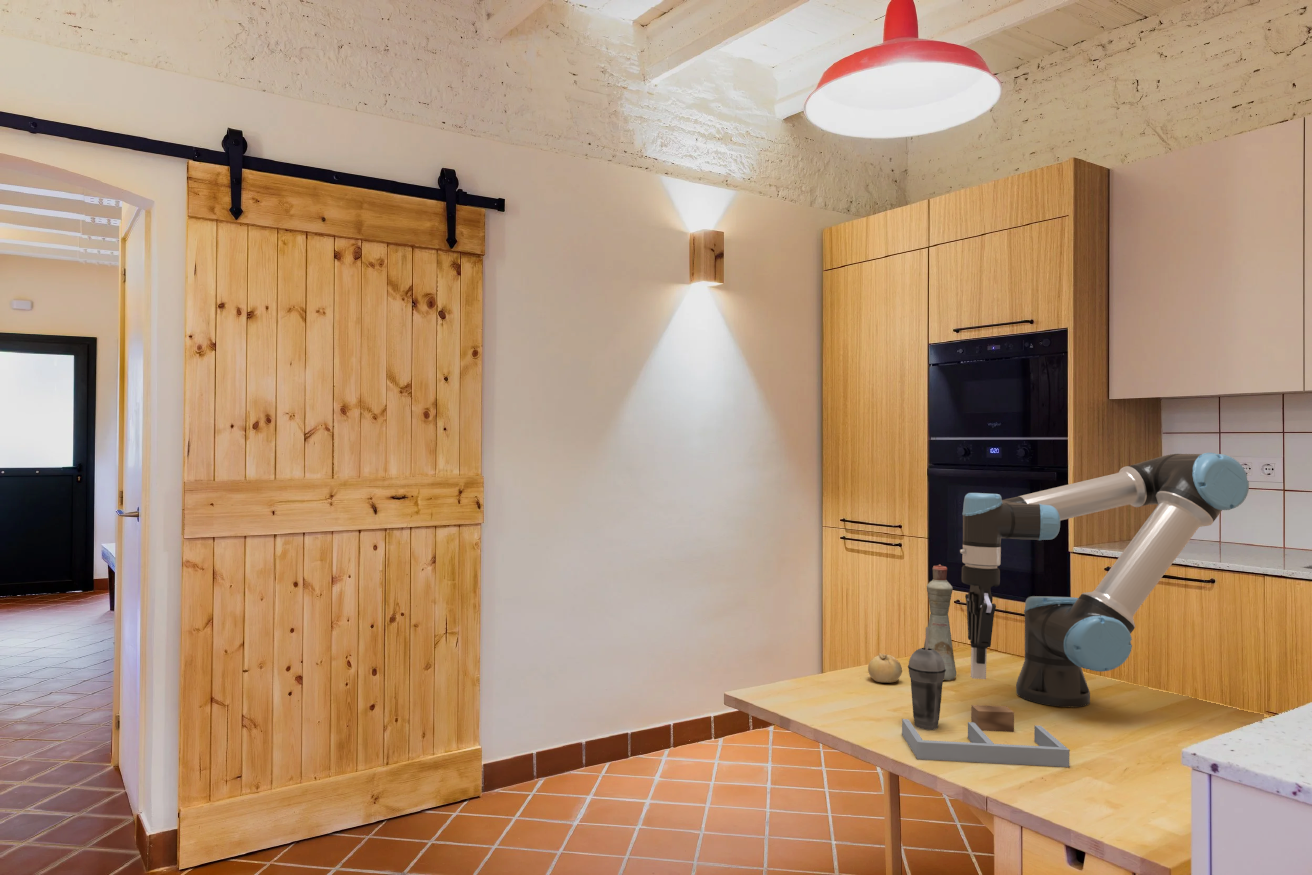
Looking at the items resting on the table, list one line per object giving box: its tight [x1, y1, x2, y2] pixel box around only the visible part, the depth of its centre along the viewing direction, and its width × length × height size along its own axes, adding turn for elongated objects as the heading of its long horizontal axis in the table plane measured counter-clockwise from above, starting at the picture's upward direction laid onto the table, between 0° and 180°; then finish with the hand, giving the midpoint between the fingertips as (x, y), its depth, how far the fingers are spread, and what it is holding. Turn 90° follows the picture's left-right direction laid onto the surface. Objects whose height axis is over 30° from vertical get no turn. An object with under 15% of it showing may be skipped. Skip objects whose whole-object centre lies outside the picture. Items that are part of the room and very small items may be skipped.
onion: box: [867, 653, 903, 684], centre depth 194 cm, size 8×8×7 cm
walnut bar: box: [970, 704, 1015, 733], centre depth 161 cm, size 7×4×4 cm, turn 87°
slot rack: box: [901, 718, 1070, 768], centre depth 148 cm, size 26×13×3 cm, turn 85°
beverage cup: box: [907, 626, 946, 731], centre depth 162 cm, size 7×7×20 cm
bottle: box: [923, 564, 957, 681], centre depth 199 cm, size 9×9×28 cm
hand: (978, 677), depth 169 cm, fingers closed
